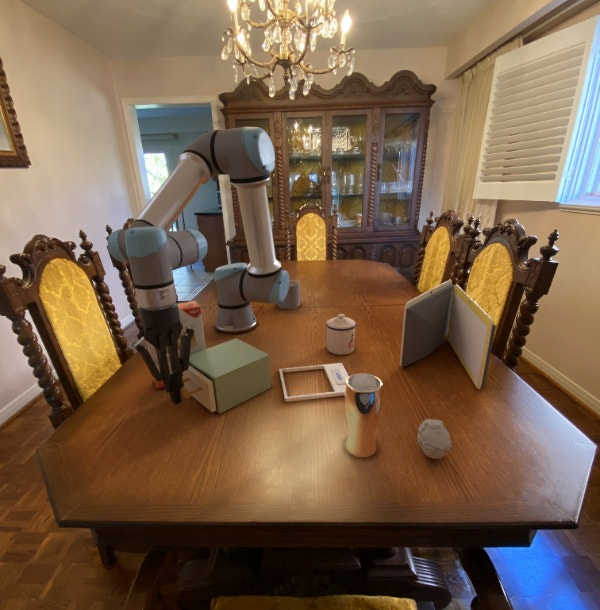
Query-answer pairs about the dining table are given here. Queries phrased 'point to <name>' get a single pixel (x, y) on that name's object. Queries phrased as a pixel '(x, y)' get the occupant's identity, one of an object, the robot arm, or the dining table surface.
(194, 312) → the cracker box
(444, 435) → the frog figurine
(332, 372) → the photo frame
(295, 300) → the coffee mug
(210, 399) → the drawer
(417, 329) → the grey folded panels
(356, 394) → the beer glass
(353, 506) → the dining table surface
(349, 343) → the teacup with lid
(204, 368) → the cabinet
